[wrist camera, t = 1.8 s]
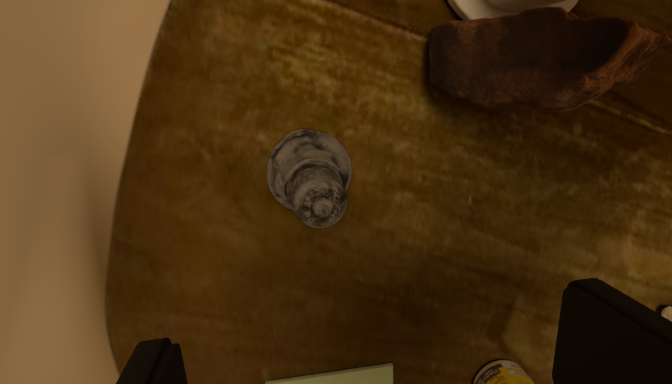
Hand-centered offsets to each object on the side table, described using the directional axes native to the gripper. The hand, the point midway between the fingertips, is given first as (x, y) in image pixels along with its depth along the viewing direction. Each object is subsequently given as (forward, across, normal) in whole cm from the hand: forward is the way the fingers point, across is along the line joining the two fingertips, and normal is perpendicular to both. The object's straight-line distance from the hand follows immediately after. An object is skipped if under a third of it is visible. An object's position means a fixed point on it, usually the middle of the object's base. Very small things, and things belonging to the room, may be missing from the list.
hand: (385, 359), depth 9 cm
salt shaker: (+21, 0, -1) cm, 21 cm away
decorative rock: (+21, -15, -7) cm, 27 cm away
